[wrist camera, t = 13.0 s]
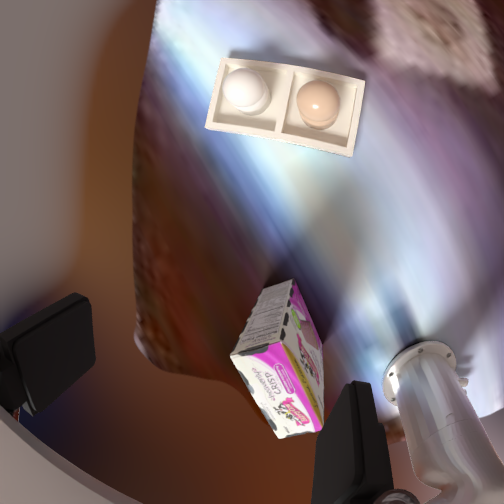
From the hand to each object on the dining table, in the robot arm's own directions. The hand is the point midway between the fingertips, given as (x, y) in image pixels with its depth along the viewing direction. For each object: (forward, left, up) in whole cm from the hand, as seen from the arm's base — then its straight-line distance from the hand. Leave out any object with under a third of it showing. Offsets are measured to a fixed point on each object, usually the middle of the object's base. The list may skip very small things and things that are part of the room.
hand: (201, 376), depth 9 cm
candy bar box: (-4, +11, -28) cm, 31 cm away
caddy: (+3, -16, -28) cm, 32 cm away
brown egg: (-1, -15, -28) cm, 32 cm away
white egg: (+7, -16, -28) cm, 33 cm away
